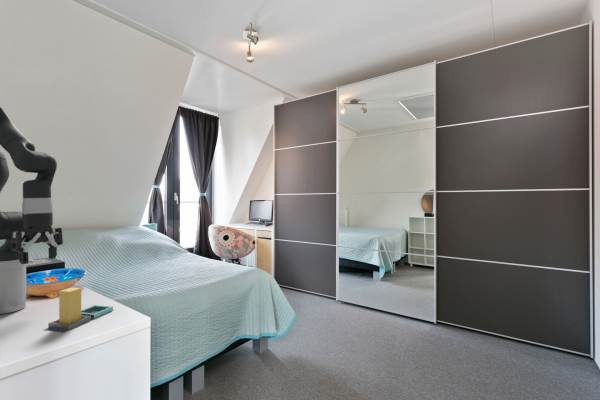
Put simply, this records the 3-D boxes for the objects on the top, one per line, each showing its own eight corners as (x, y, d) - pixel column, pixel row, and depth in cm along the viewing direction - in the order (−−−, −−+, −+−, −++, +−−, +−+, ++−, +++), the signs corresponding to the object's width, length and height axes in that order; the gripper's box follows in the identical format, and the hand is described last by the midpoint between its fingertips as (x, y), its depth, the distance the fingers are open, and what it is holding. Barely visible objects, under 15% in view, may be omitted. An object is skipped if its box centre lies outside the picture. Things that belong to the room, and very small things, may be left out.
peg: (59, 325, 85) (59, 291, 85) (71, 320, 89) (71, 287, 89) (69, 326, 85) (69, 291, 84) (81, 321, 88) (81, 288, 88)
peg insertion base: (42, 334, 83) (42, 325, 83) (96, 311, 99) (96, 304, 99) (63, 336, 81) (63, 328, 81) (114, 313, 98) (114, 306, 98)
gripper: (50, 211, 106) (52, 256, 106) (3, 213, 92) (4, 265, 92) (67, 211, 104) (69, 257, 104) (22, 212, 90) (23, 266, 90)
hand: (39, 261), depth 98 cm, fingers open, 8 cm apart
